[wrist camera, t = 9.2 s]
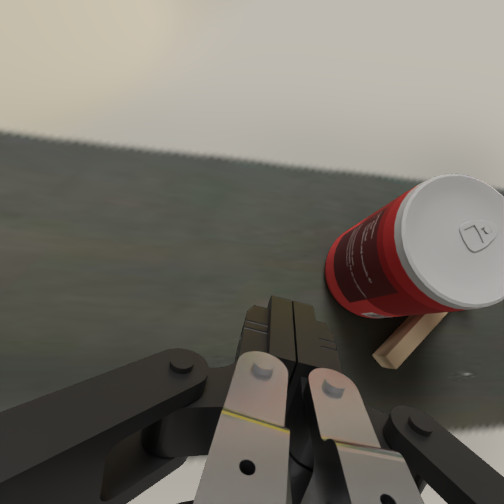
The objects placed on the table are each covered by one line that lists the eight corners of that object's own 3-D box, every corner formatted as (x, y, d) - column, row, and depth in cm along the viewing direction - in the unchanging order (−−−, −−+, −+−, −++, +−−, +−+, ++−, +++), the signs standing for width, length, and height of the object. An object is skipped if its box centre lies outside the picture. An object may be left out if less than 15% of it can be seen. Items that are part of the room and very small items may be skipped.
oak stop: (381, 367, 28) (408, 370, 25) (324, 298, 29) (343, 292, 25) (459, 282, 31) (493, 276, 28) (407, 221, 32) (433, 207, 28)
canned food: (425, 281, 31) (553, 251, 20) (362, 340, 28) (469, 342, 18) (369, 211, 31) (465, 147, 21) (303, 263, 29) (373, 221, 18)
